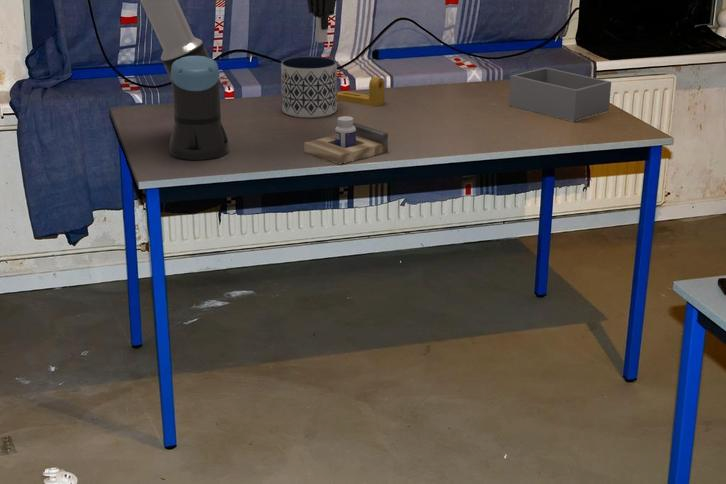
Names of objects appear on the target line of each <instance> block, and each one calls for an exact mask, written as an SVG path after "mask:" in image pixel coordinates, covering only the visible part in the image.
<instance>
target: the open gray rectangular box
mask: <svg viewBox="0 0 726 484" xmlns="http://www.w3.org/2000/svg"><path fill="white" fill-rule="evenodd" d="M509 77H510V79H509V80H510V81H509V97H508V99H509V101H508V106H509V107H513V108H516V109H520V110H524V111H528V112H532V111H533V112H532V113H535V112H537V113H536V114H539V113H541V114H540V115H543V114H545V116H547V115H550V116H549V117H551V116H554V117H553V118H555V117H559V118H562V119H561V120H563V119H567V120H571V121H576V120H579V119H582V118H585V117H588V116H592V115H595V114H599V113H602V112H606V111H609V112H610V102H611V92H612V90H611V89H612V81H610V80H609V81H608V80H605V79H600V78H595V77H590V76H586V75H582V74H578V73H573V72H568V71H563V70H560V69H554V68H550V67H541V68H538V69H534V70H529V71H525V72H521V73H516V74H512V75H510V76H509ZM559 118H558V119H559ZM567 120H566V121H567Z"/></svg>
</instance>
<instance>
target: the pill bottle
mask: <svg viewBox="0 0 726 484" xmlns="http://www.w3.org/2000/svg"><path fill="white" fill-rule="evenodd" d="M353 122H354V117H352V116H348V115H347V116H346V115H345V116H339V117H337V126H336V127H335V129H334V130H335V131H334V135H335V145H336V146H339V147H342V148H348V147H352V146H356V128H355V127H354V126H353V125H352V124H353Z"/></svg>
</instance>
